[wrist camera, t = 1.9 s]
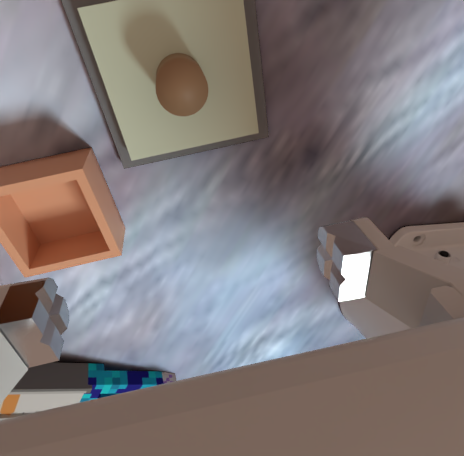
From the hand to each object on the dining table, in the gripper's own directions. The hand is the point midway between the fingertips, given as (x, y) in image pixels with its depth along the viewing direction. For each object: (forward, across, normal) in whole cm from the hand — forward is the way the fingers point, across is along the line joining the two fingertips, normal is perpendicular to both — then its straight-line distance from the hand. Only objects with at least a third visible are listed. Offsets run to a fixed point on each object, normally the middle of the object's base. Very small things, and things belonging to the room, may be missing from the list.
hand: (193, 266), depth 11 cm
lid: (+19, -1, -2) cm, 19 cm away
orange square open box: (+20, +10, +7) cm, 23 cm away
